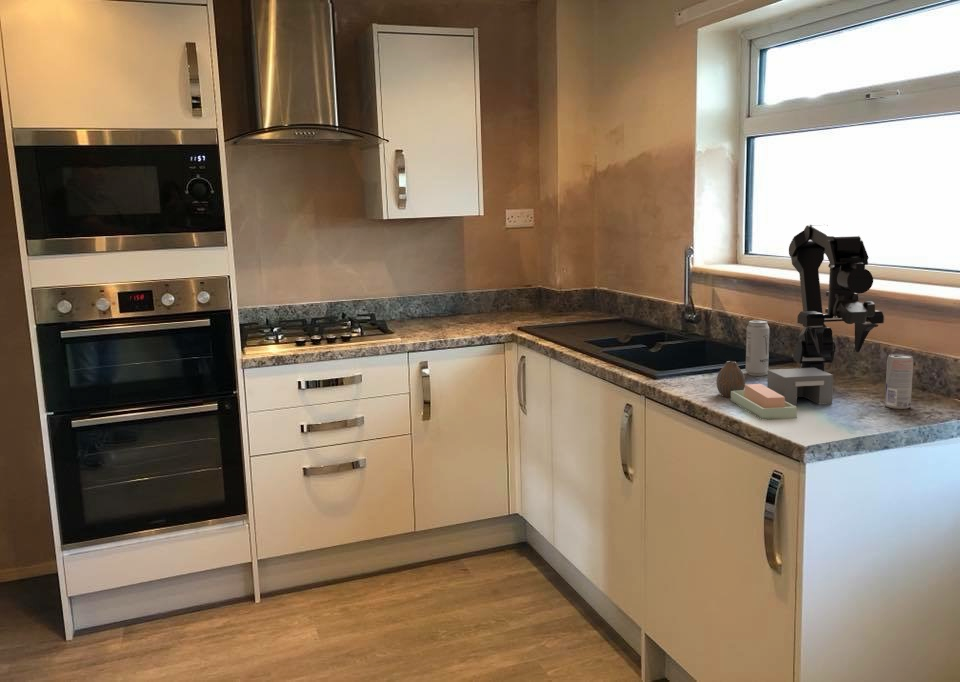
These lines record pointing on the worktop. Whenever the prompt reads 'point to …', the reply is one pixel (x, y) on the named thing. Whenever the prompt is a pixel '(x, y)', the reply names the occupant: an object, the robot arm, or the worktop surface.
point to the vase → (730, 379)
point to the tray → (760, 412)
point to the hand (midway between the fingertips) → (838, 352)
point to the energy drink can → (757, 348)
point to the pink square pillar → (763, 396)
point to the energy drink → (899, 381)
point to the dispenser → (802, 384)
